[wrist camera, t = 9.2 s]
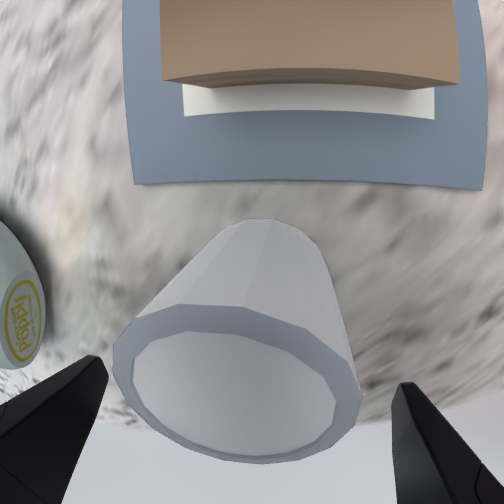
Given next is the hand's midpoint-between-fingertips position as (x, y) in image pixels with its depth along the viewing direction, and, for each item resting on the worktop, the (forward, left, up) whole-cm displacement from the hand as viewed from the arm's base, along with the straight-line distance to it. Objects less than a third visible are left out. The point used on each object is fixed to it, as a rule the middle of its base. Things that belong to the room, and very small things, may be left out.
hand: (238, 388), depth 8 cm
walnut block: (-2, -11, -5) cm, 13 cm away
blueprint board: (-2, -11, -6) cm, 13 cm away
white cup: (0, 0, -6) cm, 6 cm away
